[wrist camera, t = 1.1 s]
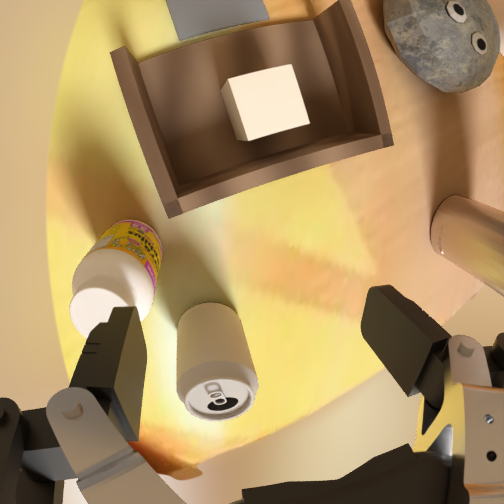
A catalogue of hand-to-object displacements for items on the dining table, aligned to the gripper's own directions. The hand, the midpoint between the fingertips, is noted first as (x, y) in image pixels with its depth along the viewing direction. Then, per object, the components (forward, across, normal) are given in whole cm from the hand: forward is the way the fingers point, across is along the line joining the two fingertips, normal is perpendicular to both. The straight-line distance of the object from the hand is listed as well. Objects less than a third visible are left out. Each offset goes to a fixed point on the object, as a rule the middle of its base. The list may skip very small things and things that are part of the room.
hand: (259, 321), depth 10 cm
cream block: (+20, -4, -9) cm, 22 cm away
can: (+21, +1, +15) cm, 26 cm away
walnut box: (+21, -3, -10) cm, 23 cm away
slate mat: (+21, +1, -21) cm, 30 cm away
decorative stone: (+22, -27, -23) cm, 42 cm away
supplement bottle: (+21, +9, +5) cm, 23 cm away
